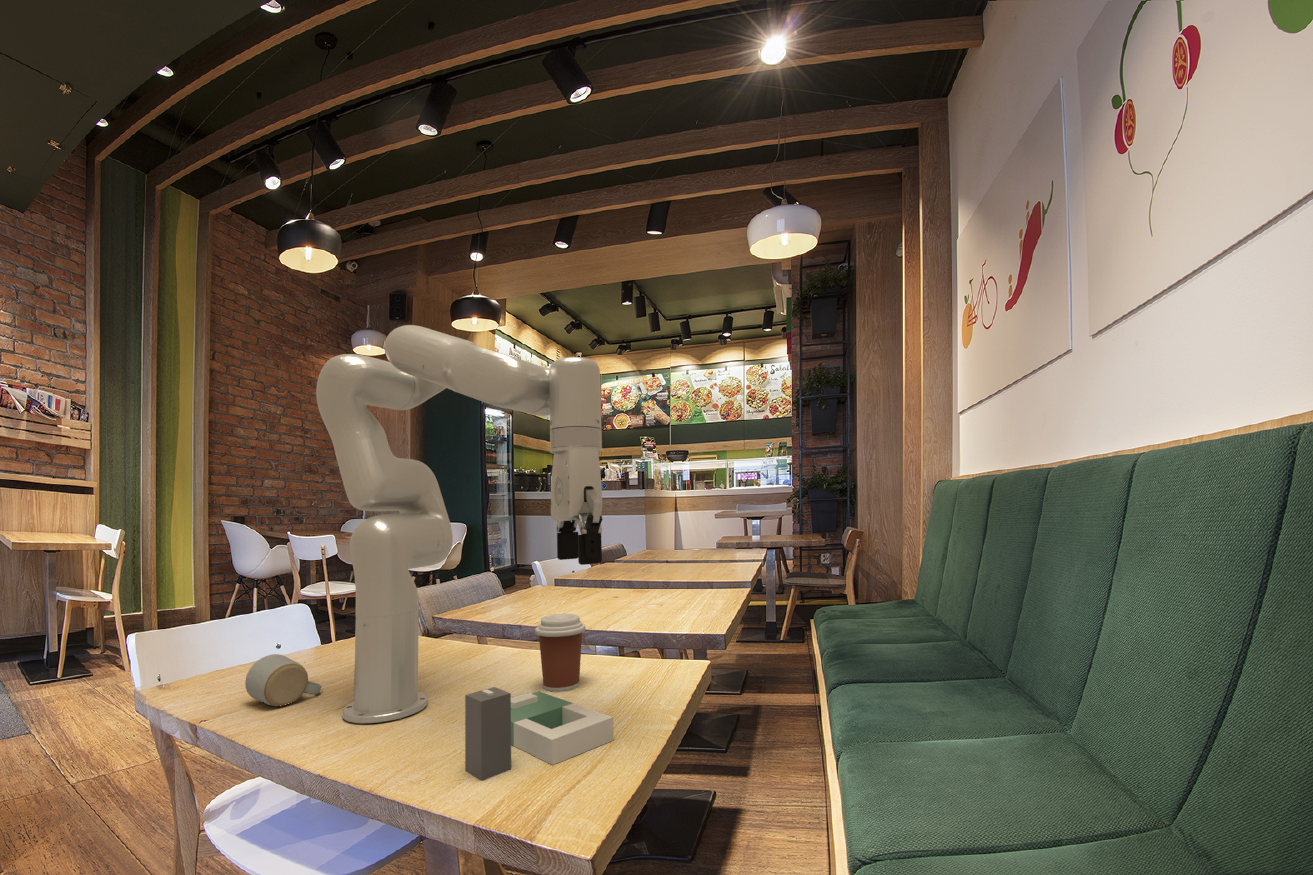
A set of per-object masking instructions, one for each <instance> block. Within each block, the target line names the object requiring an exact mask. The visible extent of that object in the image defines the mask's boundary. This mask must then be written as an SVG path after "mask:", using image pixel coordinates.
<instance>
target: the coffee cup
mask: <svg viewBox="0 0 1313 875" xmlns="http://www.w3.org/2000/svg"><path fill="white" fill-rule="evenodd" d="M580 619H581V618H580V615H578V614H576V613H574V614H573V613H557V614H556V613H555V614H549V615H545V616H543V617H541V618H540V623H539V624H538V626H537V627H535V629H534V634H535V636H536V635H537V636H538V639H539V640H538V641H539V650H540V651H539V652H540V661H541V662H540V664H541V673H542V685H543V690H545V691H547V692H552V693H553V692H554V693H556V692H558V693H559V692H566V691H567V692H568V691H572V690H575V689H577V688H578V687H579V686H580V678H581V677H580V674H581V656H582V641H583V640H582V638H583V633H584V632H585V631H587V630H586V628H587V627H586V625H585V624H584V623H583V622H582V621H581V620H580Z"/></svg>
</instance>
